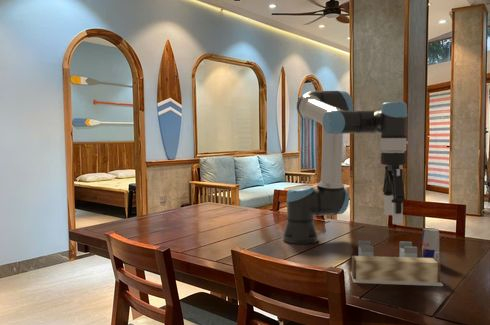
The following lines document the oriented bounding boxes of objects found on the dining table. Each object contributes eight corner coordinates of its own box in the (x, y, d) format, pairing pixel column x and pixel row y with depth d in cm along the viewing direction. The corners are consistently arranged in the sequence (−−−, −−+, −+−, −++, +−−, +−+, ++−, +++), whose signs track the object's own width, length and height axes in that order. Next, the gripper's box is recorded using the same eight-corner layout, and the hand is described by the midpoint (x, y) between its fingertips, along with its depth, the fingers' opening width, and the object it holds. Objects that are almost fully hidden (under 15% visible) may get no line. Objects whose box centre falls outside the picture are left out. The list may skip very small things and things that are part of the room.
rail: (353, 279, 127) (353, 260, 126) (351, 273, 131) (351, 255, 131) (440, 282, 123) (440, 263, 122) (435, 276, 128) (435, 258, 127)
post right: (404, 270, 135) (404, 247, 134) (399, 263, 142) (399, 241, 142) (417, 271, 134) (417, 247, 134) (411, 264, 142) (411, 241, 141)
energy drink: (419, 261, 145) (419, 228, 145) (433, 260, 146) (434, 227, 145) (427, 265, 140) (427, 231, 139) (442, 265, 140) (442, 230, 140)
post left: (361, 269, 137) (361, 246, 137) (358, 262, 144) (358, 240, 144) (373, 269, 136) (373, 246, 136) (370, 263, 144) (370, 240, 143)
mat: (353, 282, 125) (353, 281, 125) (350, 273, 133) (350, 271, 133) (443, 286, 121) (443, 284, 121) (433, 276, 130) (433, 274, 129)
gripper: (416, 153, 113) (415, 228, 115) (397, 150, 138) (396, 211, 139) (389, 153, 114) (388, 227, 116) (374, 150, 139) (374, 211, 140)
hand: (392, 219), depth 127 cm, fingers open, 13 cm apart
